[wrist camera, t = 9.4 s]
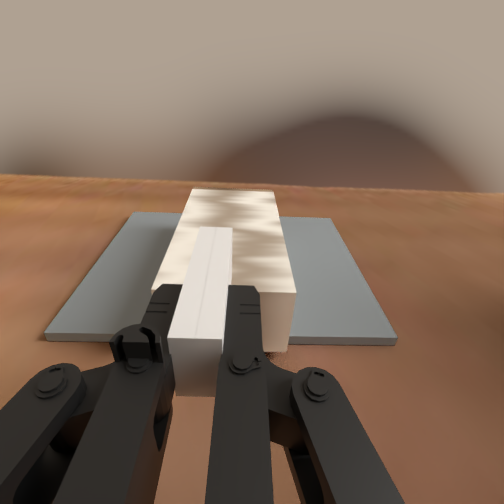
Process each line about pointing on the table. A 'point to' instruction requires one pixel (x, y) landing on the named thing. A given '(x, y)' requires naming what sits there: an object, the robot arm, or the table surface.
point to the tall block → (240, 252)
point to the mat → (302, 266)
